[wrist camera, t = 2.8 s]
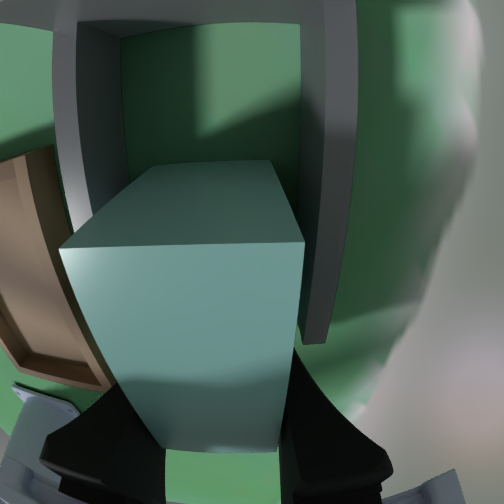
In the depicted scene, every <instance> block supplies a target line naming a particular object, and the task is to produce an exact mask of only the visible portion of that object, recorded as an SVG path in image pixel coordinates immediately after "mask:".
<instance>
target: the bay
mask: <svg viewBox="0 0 504 504" xmlns="http://www.w3.org/2000/svg"><path fill="white" fill-rule="evenodd" d="M231 22H275V23H293V24H300V38H301V125H300V161H299V186H298V206H297V224H298V226H299V229H300V231H301V234H302V236H303V239H304V241H305V248H304V259H303V270H302V280H301V289H300V299H299V307H298V316H297V320H298V325H299V329H300V334H301V339H302V343H303V345H309V344H322V343H325V342H326V338H327V333H328V329H329V325H330V320H331V315H332V311H333V306H334V301H335V296H336V291H337V286H338V280H339V275H340V269H341V263H342V257H343V251H344V245H345V238H346V231H347V224H348V217H349V209H350V200H351V192H352V182H353V172H354V161H355V148H356V133H357V113H358V32H357V14H356V0H0V23H6V24H14V25H21V26H27V27H33V28H38V29H44V30H48V31H53V32H54V33H53V51H52V91H53V110H54V122H55V132H56V141H57V149H58V156H59V162H60V169H61V174H62V180H63V185H64V190H65V195H66V200H67V204H68V209H69V213H70V217H71V221H72V225H73V229H74V233H75V232H76V231H77V230H78V229H79V228H80V227H81V226H82V225H83V224H84V223H86V222H87V221H88V220H89V219H90V218H91V217H92V216H93V215H94V214H95V213H96V212H98V211H99V210H100V209H101V208H102V207H103V206H104V205H106V204H107V203H108V202H109V201H110V200H111V199H113V198H114V197H115V196H116V195H117V194H118V193H120V192H121V191H122V190H123V189H125V188H126V187H127V186H128V185H129V184H130V179H129V172H128V164H127V156H126V147H125V137H124V125H123V112H122V95H121V38H125V37H129V36H133V35H138V34H143V33H147V32H152V31H158V30H164V29H170V28H176V27H184V26H192V25H202V24H213V23H231Z"/></svg>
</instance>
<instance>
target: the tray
mask: <svg viewBox="0 0 504 504" xmlns="http://www.w3.org/2000/svg"><path fill="white" fill-rule="evenodd" d="M70 237H71V233H70V229H69V225H68V222H67V218H66V214H65V209H64V205H63V201H62V196H61V191H60V186H59V181H58V176H57V170H56V164H55V158H54V151H53V145H49V146H46V147H42V148H39V149H35V150H32V151H29V152H26V153H23V154H19V155H16V156H13V157H11V158H8V159H5V160H2V161H0V345H1V347H2V348H3V350H4V351H5V353H6V354H7V356H8V357H9V359H10V360H11V362H12V363H13V364H14V366H15V367H16V368H17V370H18V371H19V372H22V373H25V374H28V375H32V376H35V377H38V378H42V379H45V380H49V381H53V382H57V383H61V384H65V385H69V386H73V387H78V388H82V389H87V390H92V391H97V392H103V393H106V392H107V391H108V390H109V389H110V388H111V387H112V386H113V385H114V384H115V383H116V381H117V380H116V378H115V377H114V375H113V373H112V371H111V369H110V368H109V366H108V364H107V362H106V360H105V358H104V357H103V355H102V353H101V351H100V349H99V347H98V345H97V343H96V341H95V339H94V337H93V335H92V333H91V330H90V328H89V326H88V324H87V322H86V320H85V317H84V315H83V313H82V311H81V308H80V306H79V303H78V301H77V299H76V296H75V294H74V291H73V289H72V286H71V283H70V281H69V278H68V275H67V273H66V270H65V267H64V264H63V261H62V258H61V255H60V252H59V248H60V247H61V246H62V245H63V244H64V243H65V242H66V241H67V240H68V239H69V238H70Z"/></svg>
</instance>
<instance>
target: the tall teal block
mask: <svg viewBox="0 0 504 504" xmlns="http://www.w3.org/2000/svg"><path fill="white" fill-rule="evenodd" d="M304 248H305V241H304V239H303V236H302V234H301V231H300V229H299V226H298V224H297V221H296V219H295V217H294V214H293V212H292V209H291V207H290V205H289V202H288V200H287V198H286V195H285V193H284V191H283V188H282V186H281V184H280V181H279V179H278V177H277V174H276V172H275V170H274V168H273V165H272V163H271V161H270V160H232V161H207V162H190V163H176V164H164V165H154V166H152V167H151V168H150V169H148V170H147V171H146V172H145V173H143V174H142V175H141V176H139V177H138V178H137V179H136V180H134V181H133V182H132V183H131V184H129V185H128V186H127V187H126V188H125V189H123V190H122V191H121V192H120V193H118V194H117V195H116V196H115V197H114V198H113V199H111V200H110V201H109V202H108V203H107V204H106V205H104V206H103V207H102V208H101V209H100V210H99V211H98V212H96V213H95V214H94V215H93V216H92V217H91V218H90V219H89V220H88V221H87V222H86V223H84V224H83V225H82V226H81V227H80V228H79V229H78V230H77V231H76V232H75V233H74V234H73V235H72V236H71V237H70V238H69V239H68V240H67V241H66V242H65V243H64V244H63V245H62V246H61V247H60V248H59V252H60V255H61V258H62V261H63V264H64V267H65V270H66V273H67V275H68V278H69V281H70V283H71V286H72V289H73V291H74V294H75V296H76V299H77V301H78V303H79V306H80V308H81V311H82V313H83V315H84V317H85V320H86V322H87V324H88V326H89V328H90V330H91V333H92V335H93V337H94V339H95V341H96V343H97V345H98V347H99V349H100V351H101V353H102V355H103V357H104V358H105V360H106V362H107V364H108V366H109V368H110V369H111V371H112V373H113V375H114V377H115V378H116V380H117V382H118V383H119V385H120V387H121V389H122V390H123V392H124V393H125V395H126V397H127V398H128V400H129V401H130V403H131V405H132V406H133V408H134V409H135V411H136V412H137V414H138V415H139V417H140V418H141V420H142V421H143V423H144V424H145V426H146V427H147V428H148V430H149V431H150V433H151V434H152V435H153V437H154V438H155V439H156V441H157V442H158V443H159V445H160V446H161V447H162V448H163V449H172V450H181V451H193V452H210V453H266V452H277V447H278V441H279V436H280V430H281V425H282V419H283V413H284V407H285V401H286V395H287V389H288V382H289V376H290V369H291V362H292V355H293V347H294V340H295V332H296V324H297V316H298V307H299V299H300V289H301V280H302V270H303V259H304Z"/></svg>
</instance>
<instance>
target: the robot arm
mask: <svg viewBox="0 0 504 504" xmlns="http://www.w3.org/2000/svg"><path fill="white" fill-rule="evenodd" d="M12 389H13V390H14V391H15V393H16V394H17V395H18V396H19V397H20V398H21V399H22V401H23V402H24V405H23V407H22V409H21V412H20V414H19V416H18V419H17V421H16V424H15V426H14V428H13V431H12V434H11V436H10V439H9V441H8V444H7V447H6V450H5V453H4V456H3V459H2V462H1V467H0V504H166V497H165V456H166V449H163V448H162V447H161V446H160V445H159V443H158V442H157V441H156V439H155V438H154V437H153V435H152V434H151V433H150V431H149V430H148V428H147V427H146V426H145V424H144V423H143V421H142V420H141V418H140V417H139V415H138V414H137V412H136V411H135V409H134V408H133V406H132V405H131V403H130V401H129V400H128V398H127V397H126V395H125V393H124V392H123V390H122V389H121V387H120V385H119V383H118V382H117V381H116V383H115V384H114V385H113V386H112V387H111V388H110V389H109V390H108V391H107V392H106V393H105V394H104V395H103V396H102V397H101V398H100V399H98V400H97V401H96V402H95V403H94V404H93V405H92V406H91V407H89V408H88V409H87V410H86V411H84V412H83V413H82V414H80V413H79V412H78V410H77V409H76V408H75V407H74V406H73V405H72V404H71V403H70V402H67V401H64V400H60V399H57V398H53V397H50V396H47V395H44V394H40V393H37V392H34V391H31V390H28V389H26V388H23V387H20V386H17V385H15V384H13V385H12ZM278 447H279V464H280V485H281V504H466V503H465V500H464V497H463V493H462V490H461V486H460V483H459V480H458V477H457V474H456V471H455V469H452V470H450V471H447V472H446V473H443V474H441V475H439V476H436V477H434V478H432V479H430V480H428V481H426V482H424V483H423V484H421V486H418V487H416V488H413V489H410V490H408V491H405V492H402V493H399V494H396V495H393V496H390V497H387V498H384V499H381V495H380V492H381V491H382V486H381V483H382V482H383V481H384V480H386V479H387V478H389V477H390V476H391V475H392V474H393V467H392V464H391V461H390V459H389V457H388V455H387V453H386V451H385V450H384V449H383V448H382V447H380V446H378V445H377V444H376V443H374V442H373V441H372V440H371V439H369V438H368V437H367V436H365V435H364V434H363V433H362V432H360V431H359V430H358V429H357V428H356V427H355V426H354V425H353V424H352V423H351V422H350V421H348V420H347V419H346V418H345V417H344V416H343V415H342V414H341V413H340V412H339V411H338V410H337V409H336V407H335V406H334V405H333V404H332V403H331V402H330V401H329V400H328V398H327V397H326V396H325V395H324V393H323V392H322V391H321V390H320V388H319V387H318V386H317V384H316V383H315V381H314V380H313V378H312V377H311V376H310V374H309V373H308V371H307V369H306V368H305V366H304V364H303V363H302V361H301V359H300V358H299V356H298V354H297V352H296V350H295V348H294V347H293V355H292V362H291V369H290V376H289V382H288V389H287V395H286V401H285V407H284V413H283V419H282V425H281V430H280V436H279V441H278Z"/></svg>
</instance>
